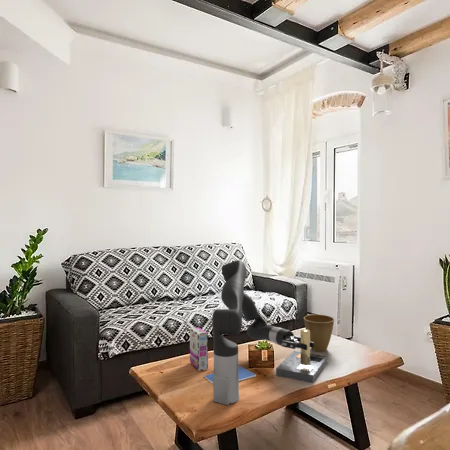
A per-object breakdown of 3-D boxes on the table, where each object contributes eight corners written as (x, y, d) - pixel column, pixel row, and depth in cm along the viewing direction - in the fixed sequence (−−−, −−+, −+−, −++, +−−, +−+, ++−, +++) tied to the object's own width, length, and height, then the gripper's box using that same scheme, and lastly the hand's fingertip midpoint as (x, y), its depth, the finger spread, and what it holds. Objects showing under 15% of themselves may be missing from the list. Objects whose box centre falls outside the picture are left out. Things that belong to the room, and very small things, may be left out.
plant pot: (298, 346, 198) (298, 316, 198) (322, 343, 204) (322, 313, 203) (315, 356, 184) (314, 323, 184) (340, 352, 190) (340, 320, 189)
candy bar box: (208, 369, 170) (208, 332, 170) (198, 371, 168) (197, 334, 167) (199, 361, 180) (199, 326, 180) (189, 362, 178) (189, 327, 178)
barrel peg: (308, 366, 159) (308, 332, 159) (299, 364, 161) (299, 331, 161) (311, 362, 163) (311, 330, 163) (302, 361, 165) (302, 328, 165)
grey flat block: (313, 382, 155) (313, 374, 155) (276, 375, 163) (276, 367, 162) (327, 362, 176) (327, 355, 176) (293, 357, 184) (293, 350, 184)
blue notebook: (218, 389, 151) (218, 386, 151) (202, 378, 162) (202, 375, 162) (257, 377, 162) (257, 374, 162) (240, 368, 172) (240, 365, 172)
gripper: (269, 331, 169) (298, 340, 156) (292, 325, 178) (321, 334, 164) (269, 348, 169) (298, 359, 156) (292, 341, 178) (321, 351, 164)
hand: (310, 346), depth 160 cm, fingers closed on barrel peg, 4 cm apart
